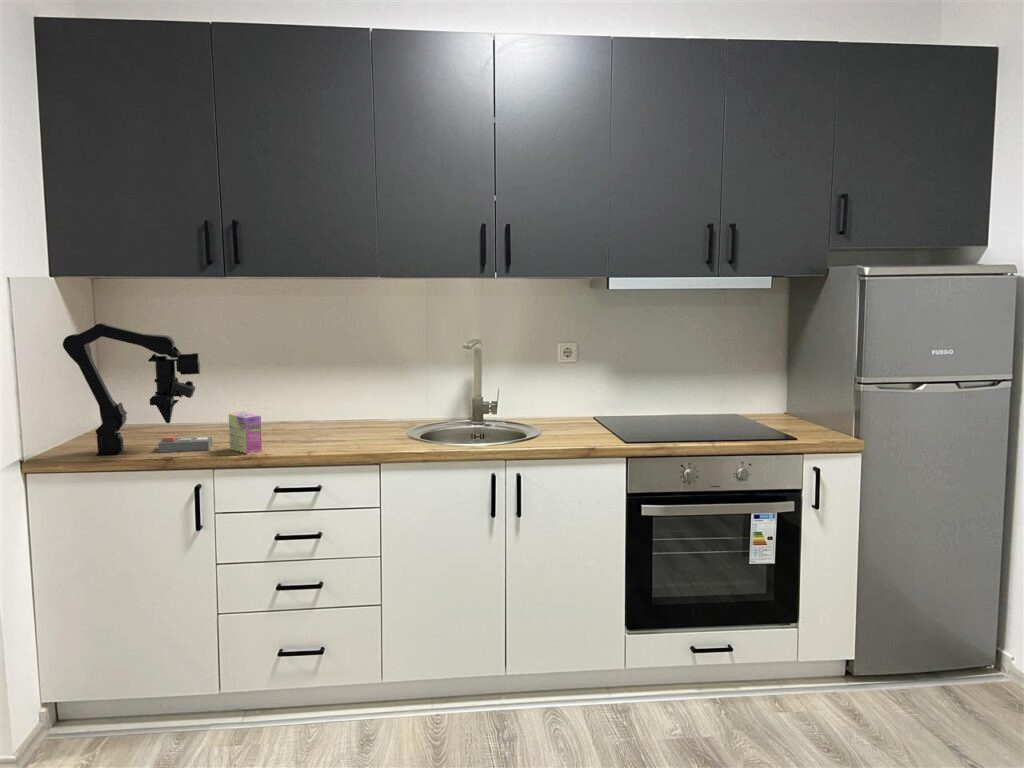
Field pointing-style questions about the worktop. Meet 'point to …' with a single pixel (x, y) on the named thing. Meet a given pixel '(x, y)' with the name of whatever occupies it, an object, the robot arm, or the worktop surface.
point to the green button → (185, 439)
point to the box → (245, 432)
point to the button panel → (185, 445)
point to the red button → (169, 439)
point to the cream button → (202, 438)
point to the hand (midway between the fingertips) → (168, 422)
